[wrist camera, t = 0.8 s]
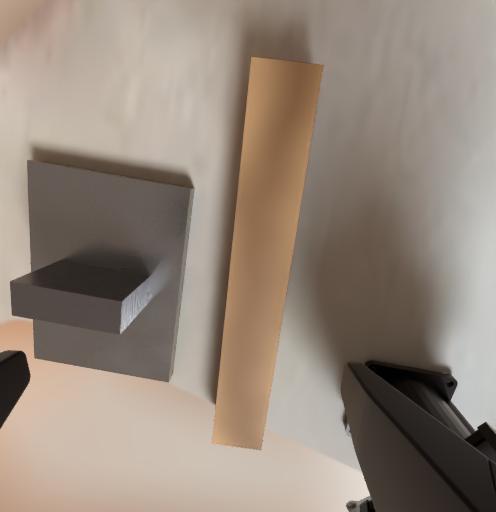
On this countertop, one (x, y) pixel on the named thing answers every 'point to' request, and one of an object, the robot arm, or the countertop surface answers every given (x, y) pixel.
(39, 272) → the ridge stand
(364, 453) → the robot arm
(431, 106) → the countertop surface
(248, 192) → the oak rod
